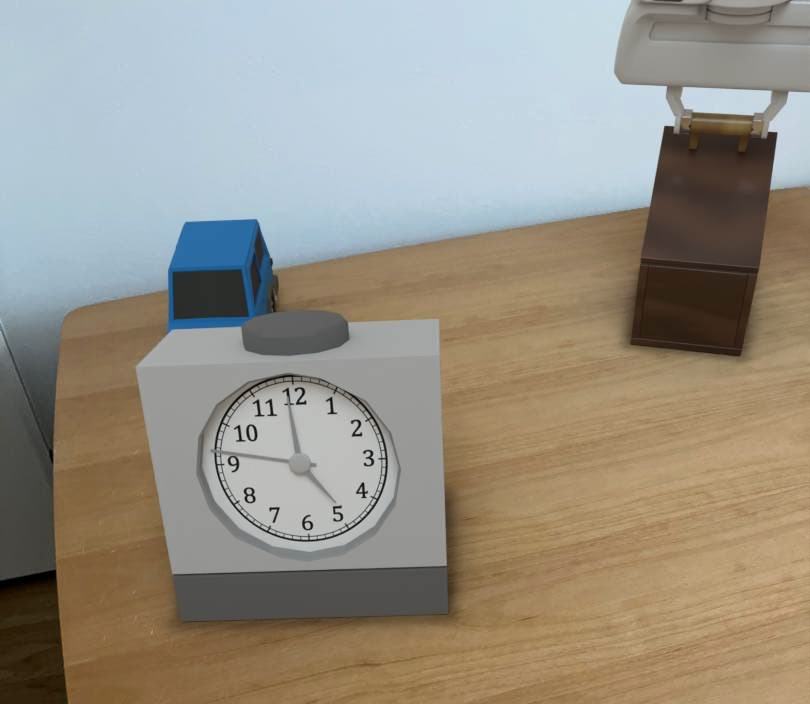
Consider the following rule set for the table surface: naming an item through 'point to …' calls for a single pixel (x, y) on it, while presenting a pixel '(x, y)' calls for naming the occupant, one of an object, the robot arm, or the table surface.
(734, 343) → the chest
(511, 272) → the table surface
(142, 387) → the alarm clock
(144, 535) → the table surface
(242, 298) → the toy car
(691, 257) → the lid
